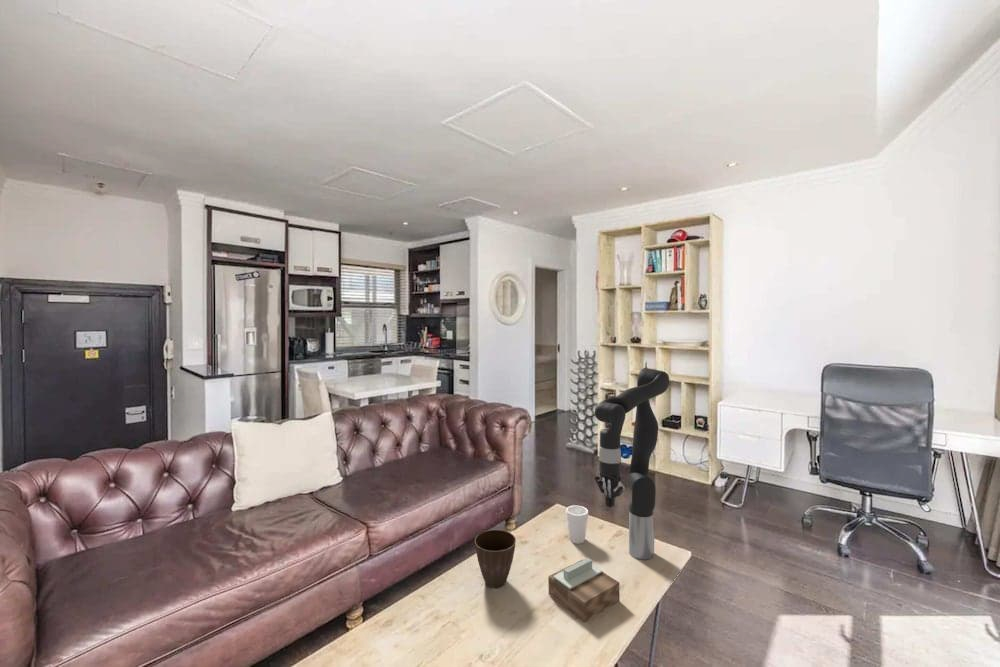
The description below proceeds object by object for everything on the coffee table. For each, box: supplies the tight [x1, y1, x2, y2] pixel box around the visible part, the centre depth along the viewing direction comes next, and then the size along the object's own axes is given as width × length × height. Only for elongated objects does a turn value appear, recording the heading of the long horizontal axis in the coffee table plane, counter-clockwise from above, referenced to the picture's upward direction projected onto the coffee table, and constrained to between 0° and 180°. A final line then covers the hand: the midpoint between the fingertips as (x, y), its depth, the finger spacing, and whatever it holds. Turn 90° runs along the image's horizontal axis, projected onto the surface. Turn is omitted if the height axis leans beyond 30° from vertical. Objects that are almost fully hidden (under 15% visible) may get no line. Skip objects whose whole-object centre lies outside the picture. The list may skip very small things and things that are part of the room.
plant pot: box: [474, 529, 517, 589], centre depth 158 cm, size 15×15×16 cm
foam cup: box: [565, 505, 589, 545], centre depth 186 cm, size 10×9×13 cm
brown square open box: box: [548, 559, 620, 623], centre depth 149 cm, size 17×17×6 cm
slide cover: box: [553, 557, 604, 589], centre depth 151 cm, size 16×8×4 cm, turn 125°
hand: (610, 506), depth 154 cm, fingers closed
